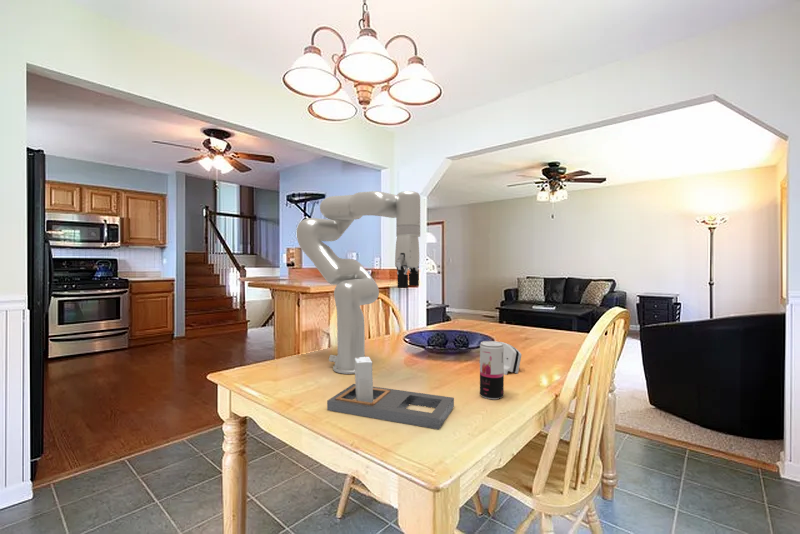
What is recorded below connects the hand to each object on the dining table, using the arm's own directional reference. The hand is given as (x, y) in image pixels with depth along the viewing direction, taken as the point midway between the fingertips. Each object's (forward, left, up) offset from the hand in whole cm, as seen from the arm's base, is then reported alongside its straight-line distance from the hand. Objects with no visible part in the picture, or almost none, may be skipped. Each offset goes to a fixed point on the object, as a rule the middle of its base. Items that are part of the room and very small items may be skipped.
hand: (408, 286), depth 119 cm
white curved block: (+25, +28, -31) cm, 48 cm away
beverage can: (+26, -2, -31) cm, 40 cm away
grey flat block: (+3, -21, -30) cm, 37 cm away
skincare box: (-5, -21, -31) cm, 37 cm away
